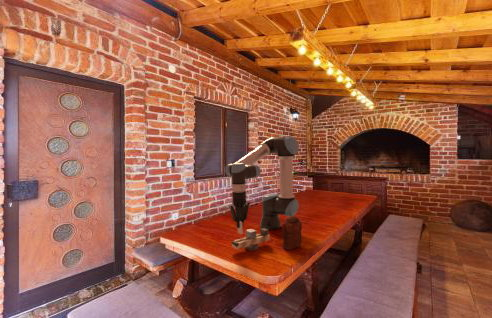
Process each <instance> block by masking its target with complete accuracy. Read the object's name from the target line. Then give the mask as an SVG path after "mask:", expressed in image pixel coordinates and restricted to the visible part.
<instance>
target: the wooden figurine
mask: <svg viewBox="0 0 492 318" xmlns="http://www.w3.org/2000/svg"><path fill="white" fill-rule="evenodd" d="M302 230H303V224H302V221H300V219H299V218H298V217H297V216H295V215H294V216H287V218H286V219H285V221H284V222H283V224H282V231H281V233H282V234H281V236H282V239H283V240H282V249H284V250H294V249H297V248H300V247H301V245H302V239H303V238H302V237H303V236H302Z"/></svg>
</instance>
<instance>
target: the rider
mask: <svg viewBox="0 0 492 318" xmlns="http://www.w3.org/2000/svg"><path fill="white" fill-rule="evenodd" d="M256 235H257V230H255V229H253V228H249V229H246V230H245V237H247V238H248V239H254V238H256Z"/></svg>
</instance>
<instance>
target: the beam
mask: <svg viewBox="0 0 492 318" xmlns="http://www.w3.org/2000/svg"><path fill="white" fill-rule="evenodd" d="M270 240H271V237H270V234H269V229H265V228H260V233H256V238H254V239H248V238H247V237H246V236H245V237H242V238H241V237H240V238H238V239H233V240H231V247H232V248H234V249H235V250H239V249H247V250H248V251H250V252H252V251H255V250H259V244H261V243H265V242H268V241H270Z"/></svg>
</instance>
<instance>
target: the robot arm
mask: <svg viewBox="0 0 492 318" xmlns="http://www.w3.org/2000/svg"><path fill="white" fill-rule="evenodd" d="M298 152H299V143H298V140H297V139H296V138H295V137H294V136H274V137H270V138H268V139H265V141H262V142H261V143H260V144H258V147H256V148H255V149H254V150H252V151H250V152H249V153H248V154H246V155H244V156H243V157H241V158H240V159H239V160H237V161H236V162H234V163H228V164H226V165H225V170H224V171H225V174H226V176H229V177H231V190H232V191H231V192H232V193H231V195H232V201H231V204H228V208H229V209H230V213H231V217H232V222H234V223H236V225H235V226H236V228H237V233H238V234H239V235H242V234H244V233H243V232H244V230H243V228H244V225H245V224H244V223H245V221H247V219H248V218H247V217H248V213H249V206H250V205H251V202H250V201H247V191H246V189H247V188H246V187H247V186H246V185H247V184H246V181H247V180H248V179H250V180H251V179H256V178H257V177H259V176H260V175H261V168H260V166H259V165H257V164H256V163H257V162H258V161H260V160H262V159H263V158H264V157H268V156H269V155H272V154H277V156H276V157H277V158H278V159H279V194H278V193H277V194H276V193H272V194H271V193H270V194H264V195H263V196H262V199H261V206H262V207H261V208H262V209H261V210H262V211H261V212H262V214H261V215H262V216H261V219H260V222H259V227H260V229H262V228H265V229H268V230H278V229H281V227H282V223H281V219H280V217H279V215H282V216H285V217H290V216H295V215H296V214H297V213H298V211H299V205H300V204H299V201H298V199H296V196H295V194H294V193H293V192H294V191H293V189H294V187H293V185H294V184H293V181H294V180H293V177H294V176H293V171H294V170H293V165H294V164H293V162H294V161H293V160H294V158H295V157H296V156H295V155H296V154H297V153H298Z"/></svg>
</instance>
